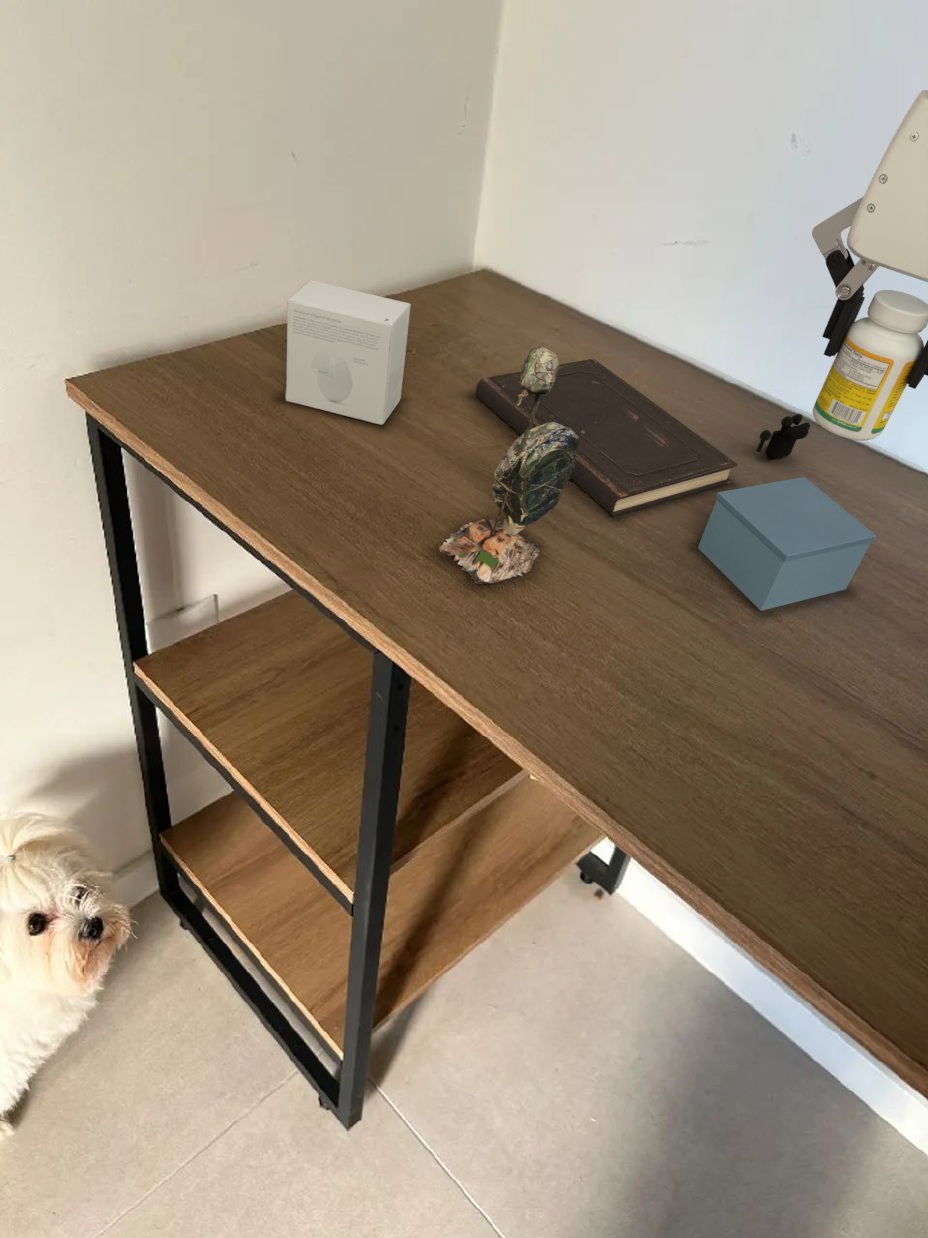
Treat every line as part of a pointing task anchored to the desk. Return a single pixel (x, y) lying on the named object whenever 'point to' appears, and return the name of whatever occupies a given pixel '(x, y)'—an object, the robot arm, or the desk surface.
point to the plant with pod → (519, 487)
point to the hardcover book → (614, 437)
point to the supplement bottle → (872, 367)
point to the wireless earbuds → (784, 437)
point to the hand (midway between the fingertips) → (874, 363)
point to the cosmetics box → (345, 351)
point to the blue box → (784, 542)
